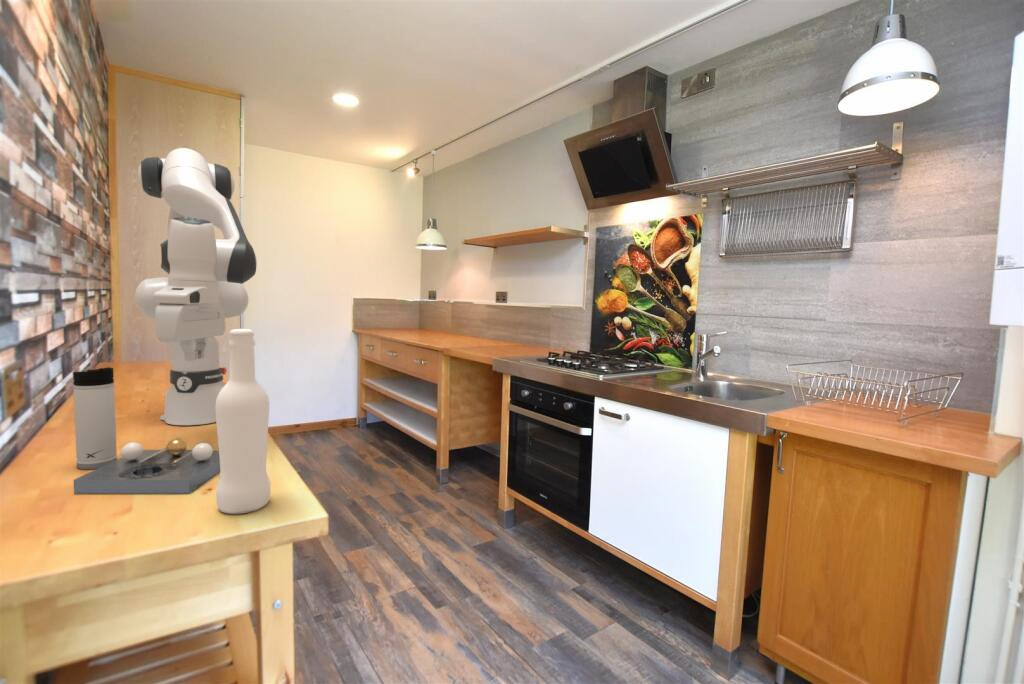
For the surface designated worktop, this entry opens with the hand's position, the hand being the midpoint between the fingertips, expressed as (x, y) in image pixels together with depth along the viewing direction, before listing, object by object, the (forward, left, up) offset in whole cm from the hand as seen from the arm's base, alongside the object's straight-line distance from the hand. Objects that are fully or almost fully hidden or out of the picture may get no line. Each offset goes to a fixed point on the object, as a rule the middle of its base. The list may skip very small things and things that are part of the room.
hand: (195, 359), depth 106 cm
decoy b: (+11, -6, -17) cm, 21 cm away
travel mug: (+6, -16, -21) cm, 27 cm away
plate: (+13, 0, -21) cm, 25 cm away
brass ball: (+8, 0, -17) cm, 18 cm away
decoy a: (+11, +7, -17) cm, 21 cm away
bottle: (+26, +21, -21) cm, 40 cm away
